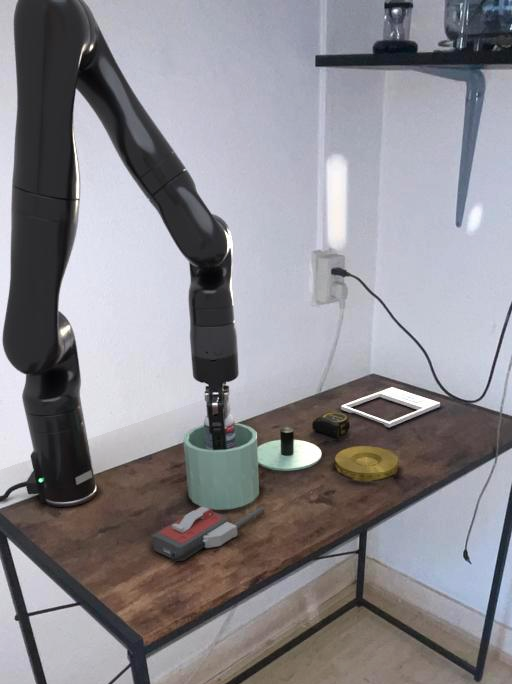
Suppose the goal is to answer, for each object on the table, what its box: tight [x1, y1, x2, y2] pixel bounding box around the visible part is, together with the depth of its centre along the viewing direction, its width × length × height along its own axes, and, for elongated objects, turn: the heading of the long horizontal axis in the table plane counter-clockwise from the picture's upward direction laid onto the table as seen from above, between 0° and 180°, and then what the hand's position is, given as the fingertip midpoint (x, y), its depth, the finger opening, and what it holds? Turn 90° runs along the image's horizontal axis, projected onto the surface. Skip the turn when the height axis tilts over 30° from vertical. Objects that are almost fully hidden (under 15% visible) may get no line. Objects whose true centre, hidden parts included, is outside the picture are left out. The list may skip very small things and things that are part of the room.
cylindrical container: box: [182, 422, 260, 511], centre depth 121 cm, size 13×13×12 cm
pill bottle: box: [203, 401, 236, 450], centre depth 118 cm, size 5×5×9 cm
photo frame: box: [340, 386, 441, 428], centre depth 159 cm, size 15×1×18 cm
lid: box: [257, 427, 322, 472], centre depth 136 cm, size 14×14×6 cm
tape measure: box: [312, 411, 350, 439], centre depth 147 cm, size 7×7×4 cm
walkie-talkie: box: [152, 506, 265, 562], centre depth 111 cm, size 9×4×20 cm
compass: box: [334, 445, 399, 482], centre depth 132 cm, size 12×12×2 cm
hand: (220, 444), depth 119 cm, fingers closed on pill bottle, 5 cm apart
